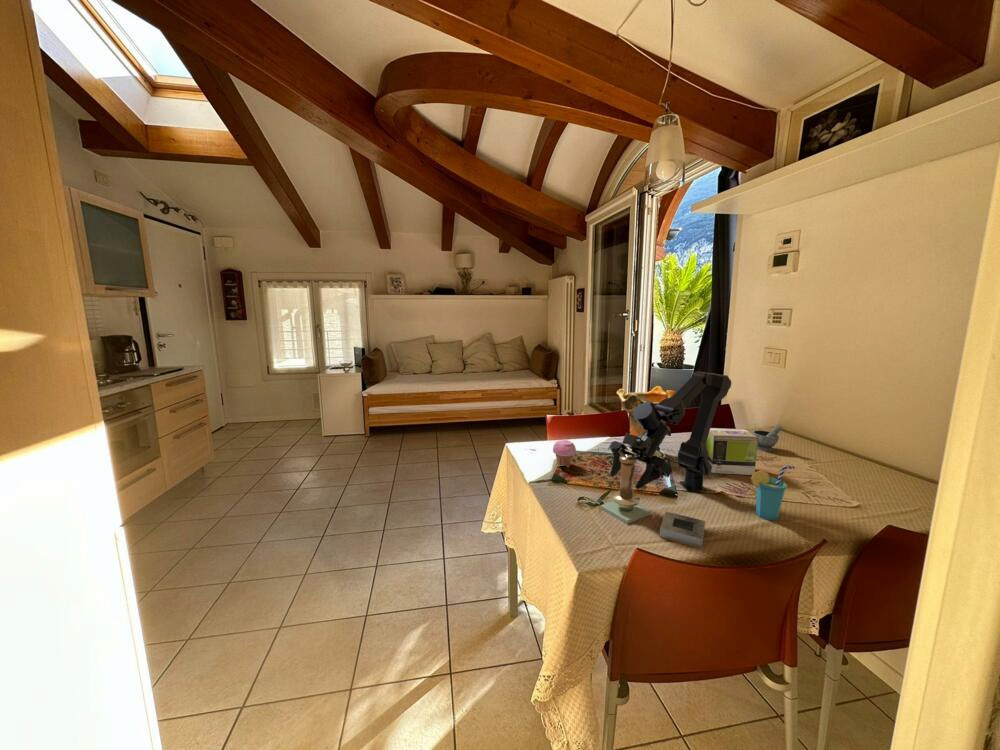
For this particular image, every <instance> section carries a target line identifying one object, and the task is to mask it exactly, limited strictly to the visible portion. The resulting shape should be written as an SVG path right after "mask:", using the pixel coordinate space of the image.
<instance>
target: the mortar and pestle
mask: <svg viewBox="0 0 1000 750" xmlns="http://www.w3.org/2000/svg"><path fill="white" fill-rule="evenodd" d="M783 430H784V428H783V426H781V425H780V424H775V426H774V428H772V430H762V429H756V430H755V429H754V430H752V431H751V433H752V434H754V435H755V436H757V437H758V445H757V451H762V452H767V453H768V452H772V451H773V447H775V445H777V443H778V441H779V439H780V435H779V433H780V432H781V431H783Z"/></svg>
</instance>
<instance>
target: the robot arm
mask: <svg viewBox="0 0 1000 750" xmlns="http://www.w3.org/2000/svg"><path fill="white" fill-rule="evenodd" d="M731 387H732V380H731V379H730V378H729V376H728V375H725V374H719V373H712V372H704V371H698V370H697V371H694V372H693V373H692V375H691V377H690V378H689V379H688V380H687V381H686V382H685V383H684V384H683V385H682V386H681V388H679V389H678V390H677V392H676V391H675V392H676V393H675V394H674V395H673V396H672V397H670V398H666V399H664V400H662V401H661V402H659V403H658V404H657V405H656V406H654V404H653V402H650V401H646V402H645V403H644V404H640V405H638V406H637V407H635V408H634V410H633V416H634V418H635V419H636V420H637V422H638V423H639V424H640V426H641V427H642V428H643V429H644V430H645V431H644V432H643V434H642V435H641V434H638V435H637V436H635V435H632V434H630V432H629V433H628V432H625V435H624V437H623V440H622V442H620V441H617V440H614V441H612V442H611V443H610V444H609V446H608V448H609V449H610V451H611V453H612V454H613V462H612V467H611V471H610V476H611V477H612V478H614V477H615V476H616V475H617V474H618V473H619V472H620V471H621V462H620V456H621V455H632V456H634V457H636V461H638V462H641V463H642V464H645V470H644V471H643V473H642V474H641V476H640V477H639V480H638V481H637V482H636V486H635V488H636V490H639V489H641V488H643V487H645V486H646V485H648V484H650V483H651V482H654V481H656V480H658V479H659V478H661V479H663V478H664V477H666V478H669V477H670V476H671V474H672V470H673V469H672V467H671V465H670V464H669V463H668V461H667V459H665V458H663V459H662V458H660V457H657V456H653V455H654V454H655V452H656V451H658V452H659V451H661V448H660V446H661V444H662V442H663V441H664V440H665V437H666V436H668V437H671V436H672V432H671V427H670V426H669V424H670V425H674V426H676V425H678V424H679V423H680V422H681V421H682V419H683V418H684V417H685V415H686V409H687V407H688V406H689V404H690V403H692V401H693V400H694V399H696V397H697V396H698V395H699V394H700V393H701V401H700V404H699V408H698V411H697V413H696V417H695V421H694V424H693V425H692V426H693V427H692V429H691V434H690V436H689V439H687V440H686V441H682V442H681V443H680V447H679V450H678V452H677V463H678V467H679V468H682V469H684V477H683V480H681V481H679V484H681V485H680V486H682V487H683V488H684V489H685V490H686V492H708V489H707V488H706V487H705V486H704V476H709V475H710V473H711V469H712V466H711V464H710V463H709V461H708V460H707V457H708V450H707V447H706V441H707V437H708V434H709V431H710V428H712V426H713V425H712V423H713V420H714V417H715V414H716V412H717V407H718V405H719V403H720V401H722V400H723V399H724V398H725V397H726V396H727V395H728V393H729V390H730V389H731ZM667 424H668V425H667ZM626 444H627V445H626ZM626 446H628V447H629V448H630V449H632V451H630V450H628V449H627V447H626Z"/></svg>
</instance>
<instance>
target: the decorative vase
mask: <svg viewBox="0 0 1000 750" xmlns="http://www.w3.org/2000/svg"><path fill="white" fill-rule="evenodd" d="M675 393H676V391H675V390H671V389H669V390H664V389H663V388H662V386H660V385H657V386H654V387H653V388H652V389H651V390H650V391H645V392H643V391H642V392H640V391H639V392H635V391H634V392H633V391H632V392H626V390H625V389H624V388H619V389H617V391H616V395H617V396H618V398H619V402H620V405H621V407H622V410H623V411H625V412H628V414H629V415H628V416H629V417H628V418H629V434H632V435H635V436H637V435H638V434H641V435H642V434H643V432H644V431H645V430H644V429H643V428H642V427H641V426H640V424H639V423H638V422H637V420H636V419H635V418H634V416H633V410H634V408H635V407H637V406H638V405H640V404H644V403H645V402H646V401H650V402H653V404H654V406H656V405H657V404H658V403H659V402H661V401H662V400H664V399H666V398H670V397H672V396H673V395H674V394H675ZM625 446H626V447H627V449H628V450H630V451H632V449H630V448H629V447H628V446H629V445H625ZM653 456H657V457H665V458H666V455H665V453H664V452H663V451H662V450H660V451H659V452H658V451H656V452H655V454H654V455H653Z"/></svg>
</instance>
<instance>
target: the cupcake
mask: <svg viewBox="0 0 1000 750" xmlns="http://www.w3.org/2000/svg"><path fill="white" fill-rule="evenodd" d="M552 452H553V453H554V455H555V457H556V463H557V466H558V465H562V466H570V467H571V464H572V461H573V459H574V456H575V455H576V452H577V449H576V446H575V444H574V442H572V441H570V440H568V439H561V440H557V441H555V443H554V444H553V448H552Z"/></svg>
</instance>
